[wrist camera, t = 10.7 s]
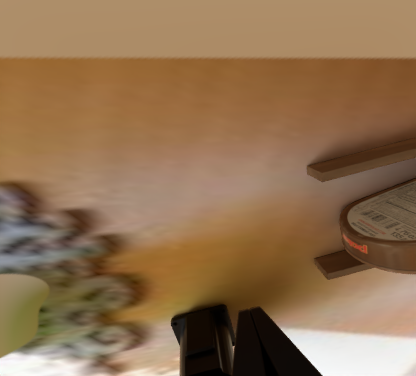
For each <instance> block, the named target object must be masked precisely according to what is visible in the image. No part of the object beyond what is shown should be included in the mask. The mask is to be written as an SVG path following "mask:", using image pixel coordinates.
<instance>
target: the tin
mask: <svg viewBox="0 0 416 376" xmlns="http://www.w3.org/2000/svg"><path fill="white" fill-rule="evenodd" d="M340 229H341V233H342V243H343V246H344V247H345V249H346V250H347V252H348V253H349V254H350V255H352V256H353V257H354V258H356V259H357V260H359V261H361V262H362V263H364V264H367V265H369V266H372V267H375V268H378V269H381V270H385V271H389V272H394V273H402V274H416V178H415V179H413V180H410V181H407V182H405V183H402V184H400V185H397V186H394V187H392V188H389V189H386V190H384V191H381V192H379V193H376V194H373V195H371V196H368V197H366V198H363V199H360V200H358V201H356V202H354V203H352V204H350V205H349V206H347V207H346V208H345V209H344V210H343V211H342V213H341V215H340Z"/></svg>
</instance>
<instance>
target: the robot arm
mask: <svg viewBox="0 0 416 376" xmlns="http://www.w3.org/2000/svg"><path fill="white" fill-rule="evenodd" d="M222 309H223V310H222ZM171 326H172V329H173V331H174V333H175V336H176V338H177V340H178V343H179V345H180V376H322V375H321V374H320V372H319V371H318V370H317V369H316V368H315V367H314V366H313V365H312V364H311V362H310V361H309V360H308V359H307V358H306V357H305V356H304V355H303V354H302V352H301V351H300V350H299V349H298V348H297V347H296V346H295V345H294V344H293V343H292V341H291V340H290V339H289V338H288V337H287V336H286V335H285V334H284V333H283V331H282V330H281V329H280V328H279V327H278V326H277V325H276V324H275V323H274V321H273V320H272V319H271V318H270V317H269V316H268V315H267V314H266V313H265V312H264V310H263V309H262V308H261V307H259V306H257V307H252V308H250V309H244V310H240V311H239V312H238V319H237V328H236V338H235V335H234V331H233V328H232V324H231V321H230V317H229V314H228V310H227V307H226V306H225V305H219V306H215V307H212V308H208V309H204V310H200V311H197V312H193V313H189V314H186V315H182V316H178V317H175V318H172V320H171ZM232 346H235V347H234V352H233V347H232Z"/></svg>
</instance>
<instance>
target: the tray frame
mask: <svg viewBox="0 0 416 376" xmlns="http://www.w3.org/2000/svg"><path fill="white" fill-rule="evenodd" d="M415 157H416V138H412V139H409V140H405V141H401V142H397V143H393V144H390V145H386V146H382V147H378V148H374V149H371V150H367V151H363V152H359V153H355V154H351V155H348V156H344V157H340V158H336V159H332V160H329V161H325V162H321V163H317V164H313V165H310V166H307V174H308V175H310V176H312V177H314V178H316V179H318V180H320V181H322V182H324V181H328V180H332V179H336V178H339V177H343V176H347V175H351V174H355V173H358V172H362V171H366V170H370V169H374V168H377V167H381V166H385V165H389V164H392V163H396V162H400V161H404V160H408V159H411V158H415ZM314 260H315V265H316V266H317V268H318V269H319V270H320V271H321V272H322V273H323V275H324V276H325V277H326V278H327V279H328V280H330V279H334V278H338V277H341V276H345V275H349V274H352V273H356V272H360V271H363V270H367V269H371V268H374V267H372V266H369V265H367V264H364V263H362V262H361V261H359V260H357V259H356V258H354V257H353V256H352V255H350V254H349V253H348V252H347V250H345V251H341V252H337V253H334V254H330V255H326V256H322V257H319V258H315V259H314Z"/></svg>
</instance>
